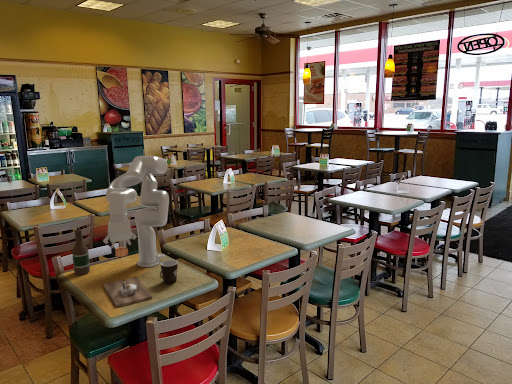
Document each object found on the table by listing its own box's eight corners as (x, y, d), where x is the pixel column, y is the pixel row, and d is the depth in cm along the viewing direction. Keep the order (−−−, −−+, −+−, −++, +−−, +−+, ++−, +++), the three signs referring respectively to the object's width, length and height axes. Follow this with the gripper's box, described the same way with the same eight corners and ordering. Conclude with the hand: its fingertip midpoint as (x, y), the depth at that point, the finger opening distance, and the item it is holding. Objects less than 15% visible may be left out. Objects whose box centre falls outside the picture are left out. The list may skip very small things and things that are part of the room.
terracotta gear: (126, 251, 193) (125, 245, 192) (129, 255, 187) (129, 249, 187) (113, 253, 189) (112, 248, 189) (116, 257, 184) (116, 251, 184)
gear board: (136, 278, 202) (135, 268, 201) (152, 298, 181) (151, 286, 180) (103, 286, 194) (102, 275, 193) (116, 307, 172) (115, 295, 171)
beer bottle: (74, 276, 206) (70, 232, 201) (74, 271, 212) (69, 228, 208) (90, 274, 209) (86, 230, 204) (89, 268, 216) (85, 226, 211)
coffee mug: (172, 276, 205) (171, 258, 203) (182, 281, 199) (181, 262, 197) (152, 283, 197) (151, 264, 195) (161, 288, 191) (160, 269, 189)
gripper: (135, 213, 192) (137, 248, 196) (97, 218, 184) (100, 255, 187) (139, 216, 186) (141, 252, 190) (100, 221, 177) (104, 259, 181)
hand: (121, 253), depth 188 cm, fingers closed on terracotta gear, 6 cm apart
